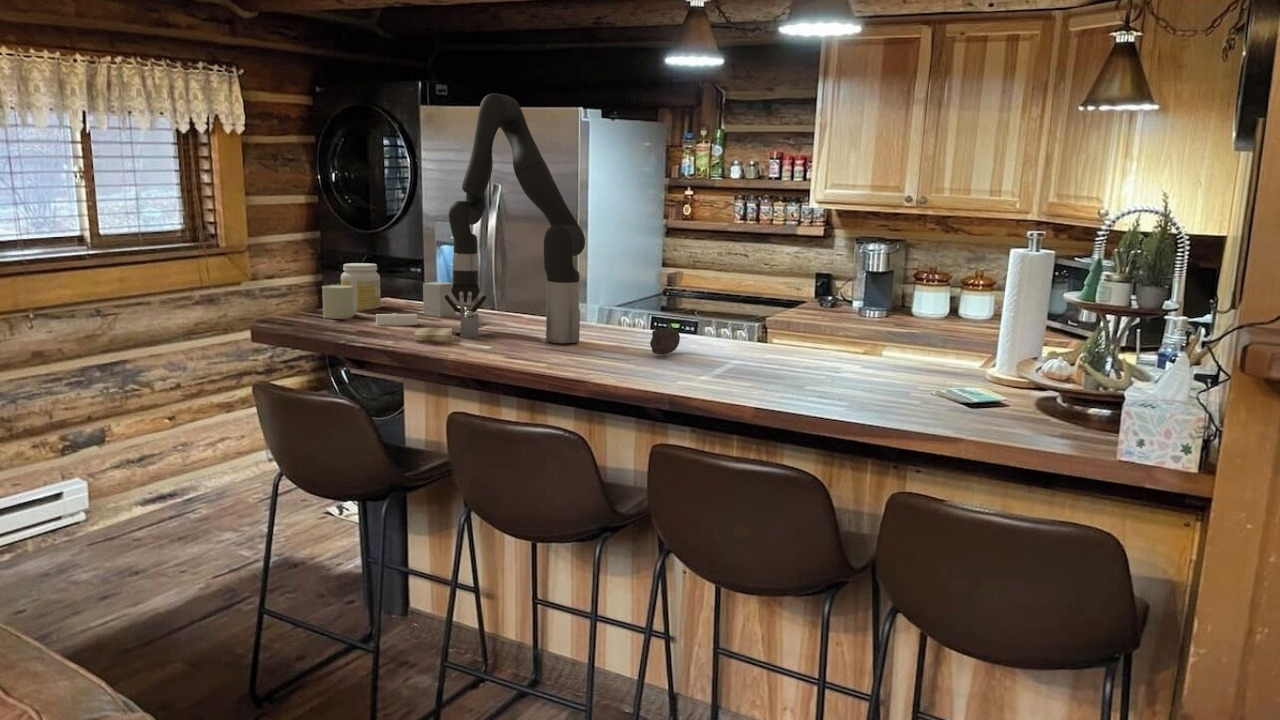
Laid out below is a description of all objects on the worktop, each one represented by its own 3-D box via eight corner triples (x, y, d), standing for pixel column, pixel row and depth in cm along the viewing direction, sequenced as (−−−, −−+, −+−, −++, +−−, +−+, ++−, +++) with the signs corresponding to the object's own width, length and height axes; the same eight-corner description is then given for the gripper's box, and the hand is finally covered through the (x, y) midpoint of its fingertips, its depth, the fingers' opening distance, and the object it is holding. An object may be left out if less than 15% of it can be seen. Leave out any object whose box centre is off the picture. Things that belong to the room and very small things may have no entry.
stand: (452, 336, 273) (452, 328, 273) (452, 344, 260) (452, 335, 260) (416, 336, 271) (416, 328, 271) (414, 344, 259) (414, 334, 258)
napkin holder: (427, 331, 284) (427, 312, 283) (408, 336, 274) (407, 317, 273) (383, 328, 289) (383, 309, 288) (362, 333, 278) (361, 313, 277)
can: (322, 322, 293) (321, 283, 291) (354, 322, 296) (353, 283, 294) (322, 326, 285) (321, 286, 282) (354, 326, 287) (353, 286, 285)
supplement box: (456, 323, 301) (456, 283, 299) (439, 325, 295) (439, 284, 293) (439, 320, 305) (439, 281, 303) (422, 323, 299) (422, 282, 296)
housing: (478, 333, 281) (478, 310, 280) (478, 338, 273) (478, 314, 271) (460, 333, 280) (460, 310, 279) (460, 338, 272) (460, 314, 270)
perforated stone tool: (669, 348, 266) (670, 323, 265) (686, 350, 264) (687, 325, 263) (645, 355, 253) (645, 329, 252) (662, 357, 251) (663, 331, 249)
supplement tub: (385, 314, 314) (384, 263, 312) (374, 319, 302) (373, 266, 300) (348, 313, 315) (347, 262, 312) (336, 318, 303) (335, 265, 300)
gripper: (487, 267, 289) (487, 324, 293) (443, 267, 287) (443, 324, 290) (488, 270, 282) (487, 328, 285) (442, 269, 280) (442, 327, 283)
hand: (465, 325), depth 288 cm, fingers closed
